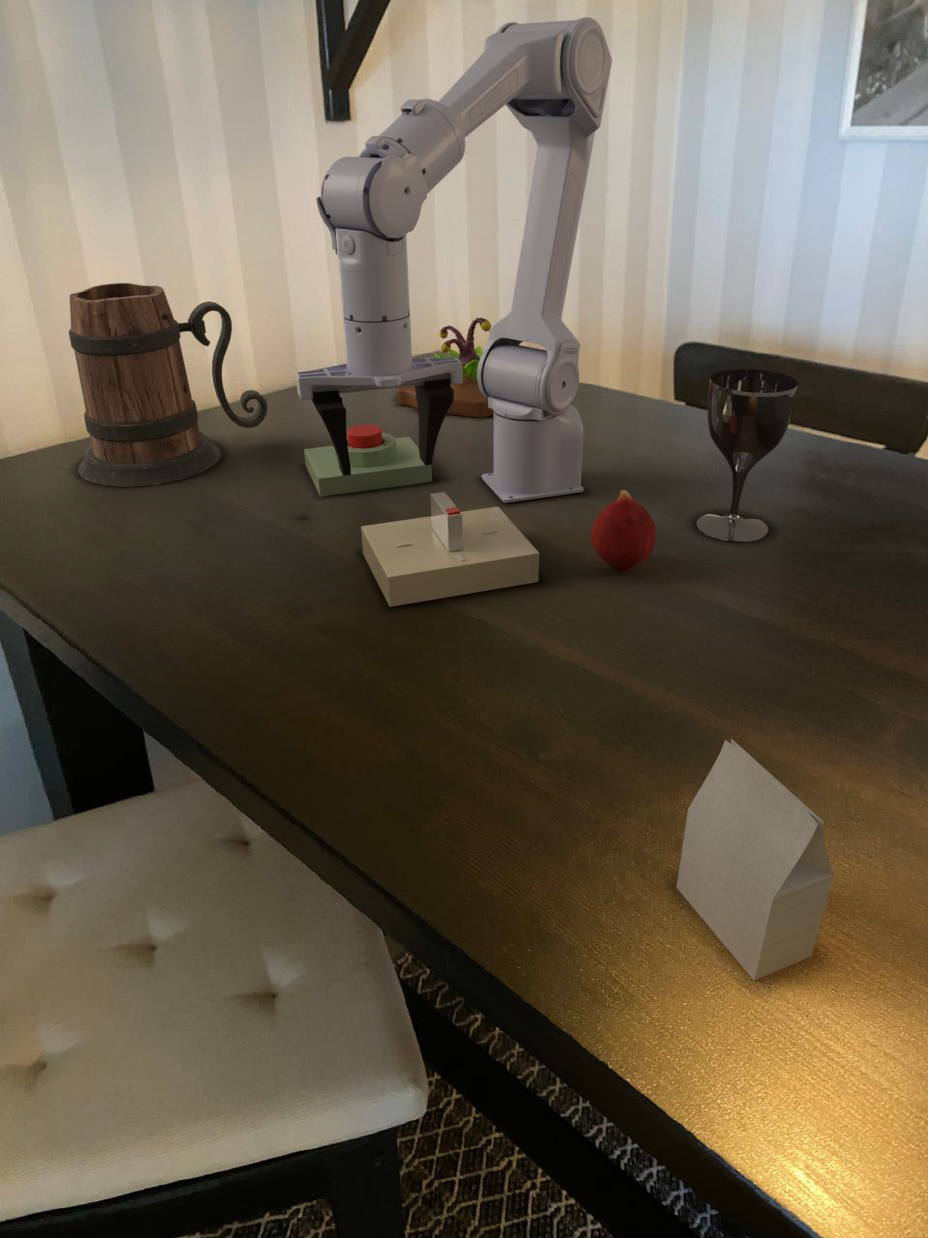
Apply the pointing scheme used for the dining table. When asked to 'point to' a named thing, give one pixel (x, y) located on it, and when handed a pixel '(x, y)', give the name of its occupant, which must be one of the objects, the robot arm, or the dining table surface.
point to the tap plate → (448, 557)
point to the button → (364, 436)
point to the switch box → (447, 521)
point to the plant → (468, 392)
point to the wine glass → (745, 437)
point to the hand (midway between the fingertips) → (386, 466)
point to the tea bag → (755, 864)
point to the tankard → (144, 386)
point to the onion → (623, 533)
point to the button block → (368, 467)
